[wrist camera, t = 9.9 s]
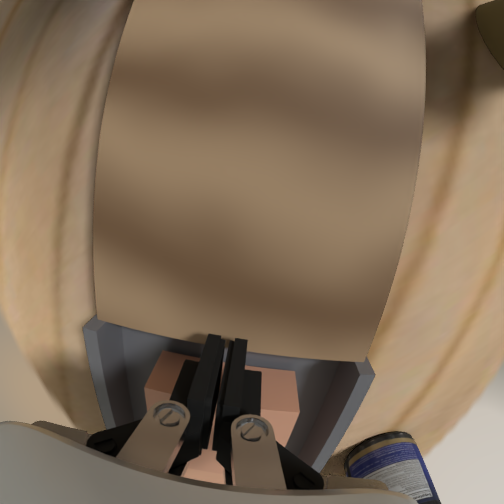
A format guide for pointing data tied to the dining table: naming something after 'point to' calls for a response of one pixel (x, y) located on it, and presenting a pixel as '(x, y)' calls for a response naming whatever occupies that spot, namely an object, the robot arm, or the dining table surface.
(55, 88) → the dining table surface
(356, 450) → the pill bottle
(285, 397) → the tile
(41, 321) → the dining table surface
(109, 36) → the dining table surface
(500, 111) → the dining table surface
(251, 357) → the tray
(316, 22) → the board
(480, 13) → the cork
